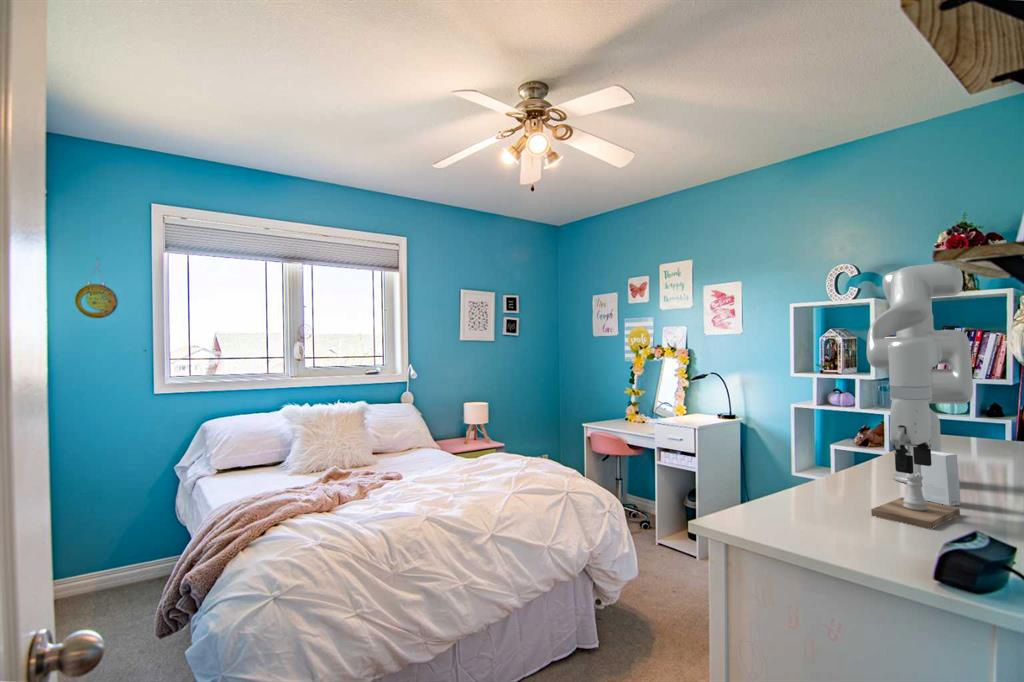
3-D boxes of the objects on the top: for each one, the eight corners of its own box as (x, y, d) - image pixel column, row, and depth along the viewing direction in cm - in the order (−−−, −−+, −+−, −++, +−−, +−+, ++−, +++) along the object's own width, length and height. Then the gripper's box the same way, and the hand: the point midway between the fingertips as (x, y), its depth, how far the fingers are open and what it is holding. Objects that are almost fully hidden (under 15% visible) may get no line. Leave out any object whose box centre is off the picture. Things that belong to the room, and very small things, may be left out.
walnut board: (902, 503, 125) (902, 497, 125) (959, 514, 116) (959, 508, 116) (871, 515, 116) (871, 509, 116) (930, 529, 107) (930, 522, 107)
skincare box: (961, 504, 123) (959, 454, 123) (949, 507, 121) (947, 455, 122) (933, 498, 129) (930, 449, 129) (921, 500, 127) (919, 451, 127)
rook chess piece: (932, 511, 114) (931, 475, 114) (909, 511, 114) (908, 475, 115) (920, 505, 118) (919, 470, 118) (898, 505, 119) (897, 470, 119)
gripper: (907, 389, 125) (910, 459, 125) (874, 396, 115) (877, 472, 116) (945, 391, 118) (949, 465, 118) (914, 398, 109) (917, 479, 109)
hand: (913, 468), depth 117 cm, fingers open, 9 cm apart
